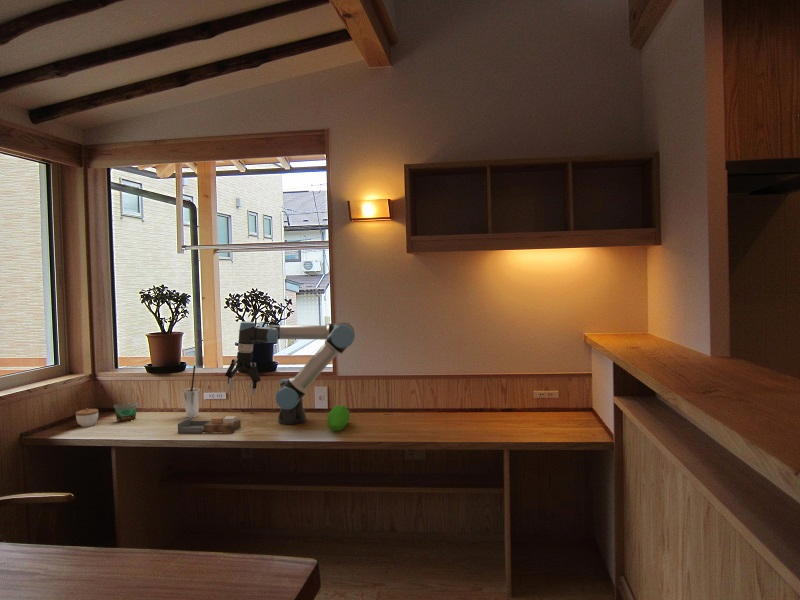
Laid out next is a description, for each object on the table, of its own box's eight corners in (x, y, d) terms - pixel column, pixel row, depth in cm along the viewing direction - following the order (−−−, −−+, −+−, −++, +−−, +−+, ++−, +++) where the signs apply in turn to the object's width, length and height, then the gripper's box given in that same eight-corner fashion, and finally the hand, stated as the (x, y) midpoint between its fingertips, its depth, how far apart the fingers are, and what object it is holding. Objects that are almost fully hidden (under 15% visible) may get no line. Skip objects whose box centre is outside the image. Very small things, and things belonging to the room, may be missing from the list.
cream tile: (236, 421, 278) (236, 416, 278) (232, 423, 273) (232, 418, 273) (227, 420, 279) (226, 416, 279) (223, 423, 274) (222, 418, 274)
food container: (116, 424, 291) (115, 405, 291) (113, 421, 296) (113, 404, 296) (140, 420, 299) (140, 402, 299) (138, 417, 304) (137, 400, 304)
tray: (213, 426, 284) (212, 416, 283) (201, 433, 271) (201, 423, 270) (190, 426, 285) (190, 416, 285) (178, 433, 272) (177, 423, 271)
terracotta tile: (225, 420, 279) (225, 416, 279) (221, 423, 274) (221, 418, 274) (215, 420, 279) (215, 416, 279) (211, 423, 274) (211, 418, 274)
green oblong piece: (346, 399, 288) (339, 410, 258) (355, 418, 288) (348, 432, 258) (327, 407, 288) (317, 420, 258) (335, 427, 288) (327, 441, 258)
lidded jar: (86, 428, 283) (85, 411, 283) (71, 427, 287) (70, 409, 286) (103, 423, 294) (102, 406, 293) (88, 422, 297) (88, 405, 297)
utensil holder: (196, 419, 298) (194, 365, 297) (178, 418, 301) (176, 365, 299) (207, 414, 309) (205, 362, 308) (189, 413, 311) (187, 362, 310)
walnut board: (240, 427, 281) (240, 419, 281) (232, 433, 270) (232, 425, 270) (213, 426, 283) (212, 419, 282) (203, 432, 272) (203, 425, 271)
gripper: (220, 348, 276) (216, 389, 277) (261, 355, 267) (257, 397, 268) (229, 347, 283) (226, 387, 284) (269, 354, 274) (266, 395, 275)
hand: (241, 392), depth 276 cm, fingers open, 13 cm apart
